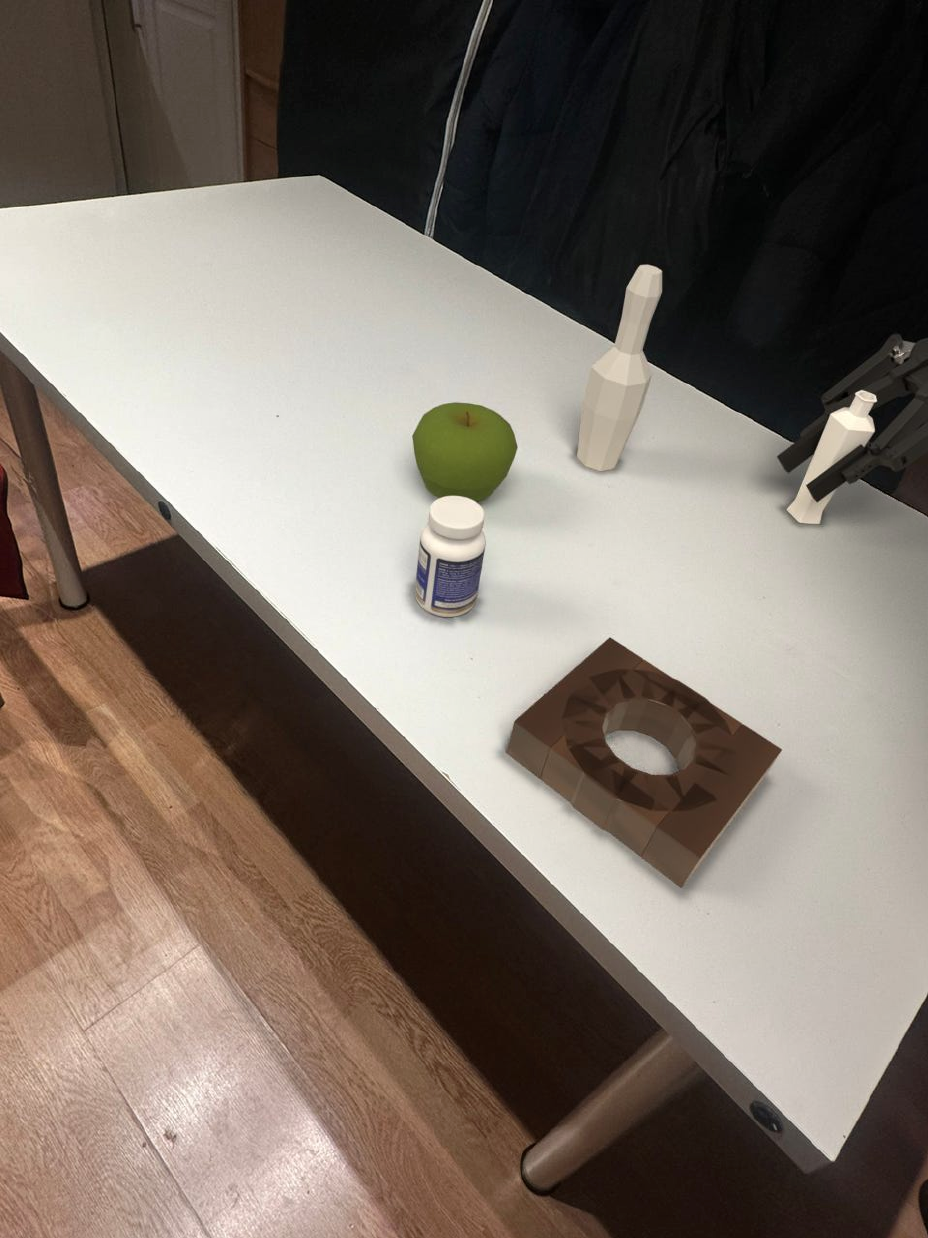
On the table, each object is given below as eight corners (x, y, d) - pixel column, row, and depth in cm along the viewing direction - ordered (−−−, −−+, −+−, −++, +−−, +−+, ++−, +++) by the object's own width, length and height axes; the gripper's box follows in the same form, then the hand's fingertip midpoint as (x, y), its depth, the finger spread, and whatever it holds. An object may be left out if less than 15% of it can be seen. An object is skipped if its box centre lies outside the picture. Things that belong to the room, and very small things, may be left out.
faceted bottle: (559, 455, 95) (605, 263, 80) (592, 438, 99) (642, 251, 84) (602, 481, 92) (658, 288, 77) (635, 463, 96) (694, 274, 81)
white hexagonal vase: (810, 532, 90) (876, 413, 80) (778, 510, 92) (837, 392, 82) (833, 518, 93) (899, 401, 82) (800, 498, 95) (861, 381, 84)
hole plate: (763, 778, 65) (783, 748, 62) (680, 890, 57) (698, 861, 54) (599, 667, 72) (610, 635, 69) (504, 753, 64) (512, 721, 61)
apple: (440, 536, 82) (452, 451, 75) (388, 479, 88) (394, 395, 81) (526, 508, 87) (544, 426, 80) (471, 456, 93) (484, 376, 86)
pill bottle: (487, 594, 77) (503, 508, 70) (455, 628, 73) (469, 541, 66) (434, 569, 78) (445, 482, 71) (401, 601, 75) (410, 513, 68)
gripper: (1072, 395, 78) (857, 547, 85) (943, 311, 90) (762, 452, 96) (1067, 345, 73) (838, 512, 79) (931, 263, 85) (740, 415, 91)
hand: (797, 478), depth 88 cm, fingers closed on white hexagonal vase, 5 cm apart
